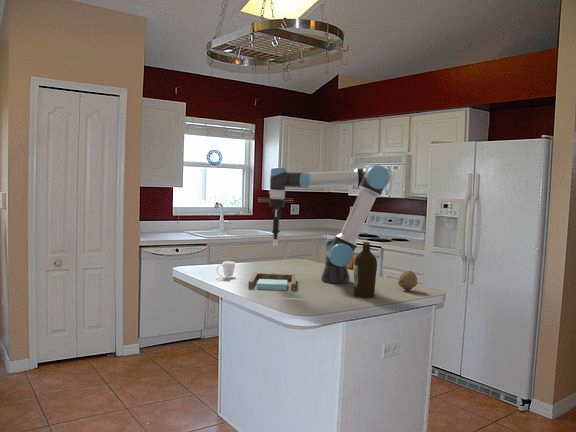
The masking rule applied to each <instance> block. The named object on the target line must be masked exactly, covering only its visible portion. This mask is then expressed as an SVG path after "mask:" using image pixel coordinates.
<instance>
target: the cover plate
mask: <svg viewBox="0 0 576 432" xmlns="http://www.w3.org/2000/svg"><path fill="white" fill-rule="evenodd" d="M287 283H288V280H273V279H259V280H258V283H257V289H256V290H271V289H273V290H276V291H288V290H287Z"/></svg>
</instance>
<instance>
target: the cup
mask: <svg viewBox="0 0 576 432" xmlns="http://www.w3.org/2000/svg"><path fill="white" fill-rule="evenodd" d="M220 266H222V269H223V276H222V275H221V274H219V272H218V271H219V267H220ZM235 266H236V262H235V261H227V260H226V261H222V264H219V265H218V266H217V267H216V273H217V275H218V276H219V277H221V278H224V279H233V274H234V272H235V271H234V270H235Z"/></svg>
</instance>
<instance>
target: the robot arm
mask: <svg viewBox="0 0 576 432" xmlns="http://www.w3.org/2000/svg"><path fill="white" fill-rule="evenodd" d="M269 179H270V181H269V191H268V194H269V198H270V199H269V207H273V209H272V220H273V221H272V224H273V225H272V231H271V233H272V247H278V246H279V233H281V230H280V219H281V212H282V211H281V210H280V208H282V207H283V208H284V207H285V198H286V188H300V189H306V188H307V189H308V188H311V187H312V188H313V187H315V188H316V187H340V186H342V187H344V186H355V188H359V190H360V191H359V192H358V193H359V194H358V195H357V197H356V199H355V201H354V203H353V206H352V208H351V210H350V212H349V214H348V216H347V218H346V221H345V223H344V225H343V227H342V229H341V231H340V233H339V234H336V235H335V237H327V238H326V242H325V245H326V247H325V265H324V268H323V272H322V274H321V278H320V279H321V281H322V282H324V283H328V284H329V283H330V284H338V285H339V284H348V283H350V282H351V277H350V272H349V269H348V265H349V264H350V263H352V261H353V259H354V253H355V251H356V249H357V246H358V244H357V239H358V237H359V235H360V233H361V231H362V229H363V226H364V225H365V222H366V220H367V218H368V216H369V214H370V211H371V210H372V207H373V205H374V203H375V201H376V198H378V197H379V198H380V197H381V195H382V193H383V191H384V189H385V188H386V187H388V184H389V183H390V180H391V175H390V172H389V170H388V169H387V168H386V167H385V166H382V165H380V164H375V165H371V166H367V167H363V168H355V169H354V170H340V171H338V170H337V171H335V170H334V171H315V172H313V171H312V172H311V171H310V172H297V171H295V172H293V171H291V172H290V171H287V168H285V167H272V168H271V169H270V176H269Z"/></svg>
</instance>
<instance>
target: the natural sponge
mask: <svg viewBox="0 0 576 432" xmlns="http://www.w3.org/2000/svg"><path fill="white" fill-rule="evenodd" d="M397 282H398V286H399V287H400V288H402V289H403V290H404V291H411V290H412V289H413V288H415V287H417V285H418V282H419V281H418V277H417V275H416V274H415V272H413V271H412V270H405V271H403V272H402V273H401V275H400V277H399V279H398V281H397Z"/></svg>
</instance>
